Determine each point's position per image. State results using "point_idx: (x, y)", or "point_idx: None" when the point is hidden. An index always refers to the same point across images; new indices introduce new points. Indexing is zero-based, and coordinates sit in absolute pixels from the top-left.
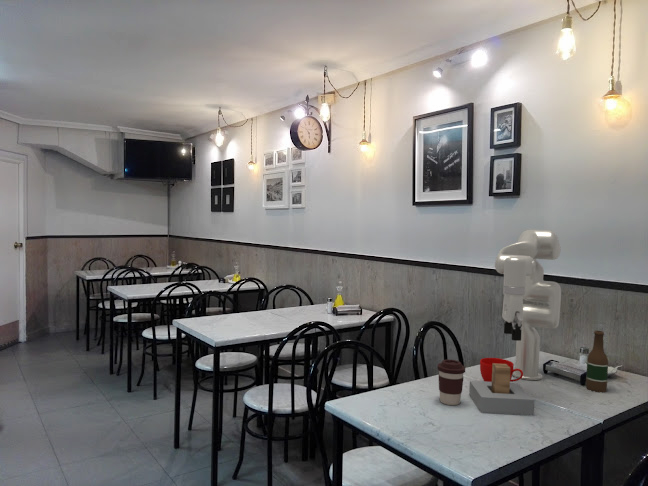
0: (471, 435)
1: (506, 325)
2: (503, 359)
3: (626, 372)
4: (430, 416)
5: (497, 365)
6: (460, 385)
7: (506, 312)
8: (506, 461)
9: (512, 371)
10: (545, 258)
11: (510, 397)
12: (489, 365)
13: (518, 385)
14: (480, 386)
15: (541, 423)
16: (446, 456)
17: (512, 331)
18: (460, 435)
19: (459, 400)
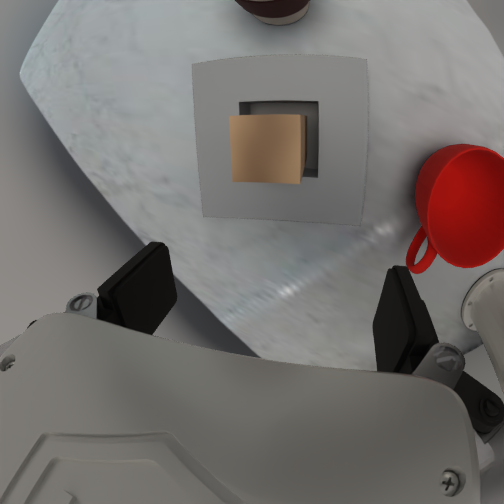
0: (95, 55)
1: (400, 332)
2: (499, 251)
3: None
4: None
5: (262, 129)
6: (237, 2)
7: (50, 454)
8: (42, 111)
9: (428, 243)
10: None
11: (206, 151)
12: (447, 162)
13: (334, 219)
14: (304, 77)
15: (174, 203)
16: (45, 37)
17: (110, 278)
18: (94, 38)
19: (260, 19)
